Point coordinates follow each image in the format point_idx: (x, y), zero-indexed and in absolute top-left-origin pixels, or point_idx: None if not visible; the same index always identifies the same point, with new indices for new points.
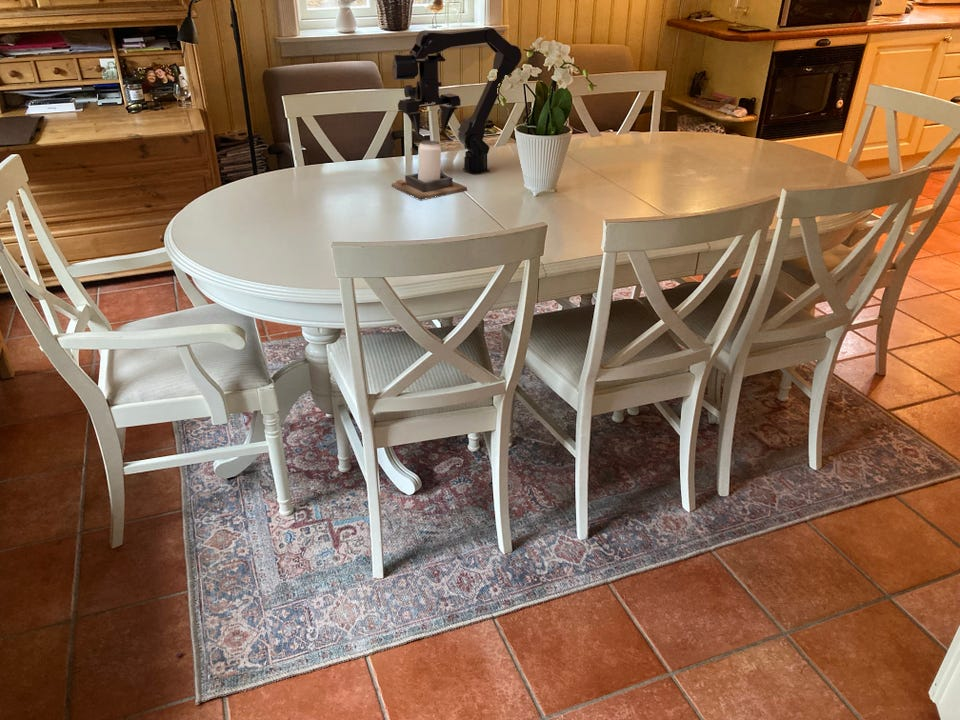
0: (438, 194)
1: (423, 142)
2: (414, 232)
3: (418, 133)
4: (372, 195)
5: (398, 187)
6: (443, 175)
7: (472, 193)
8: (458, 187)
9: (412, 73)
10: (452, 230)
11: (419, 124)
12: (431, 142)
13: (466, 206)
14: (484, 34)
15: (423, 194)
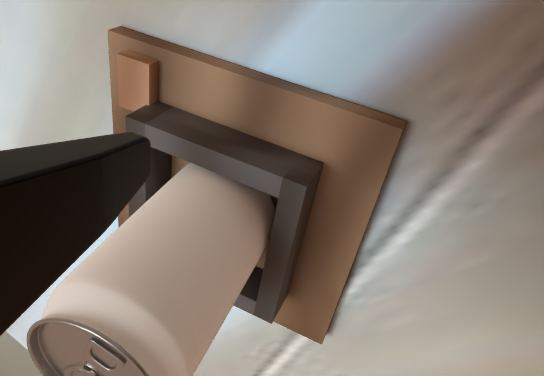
0: None
1: (71, 326)
2: (26, 326)
3: (126, 189)
4: (13, 53)
5: (114, 98)
6: (270, 275)
7: (313, 358)
8: (294, 319)
9: None
10: None
11: (21, 305)
12: (125, 365)
13: (206, 373)
14: None
15: None
